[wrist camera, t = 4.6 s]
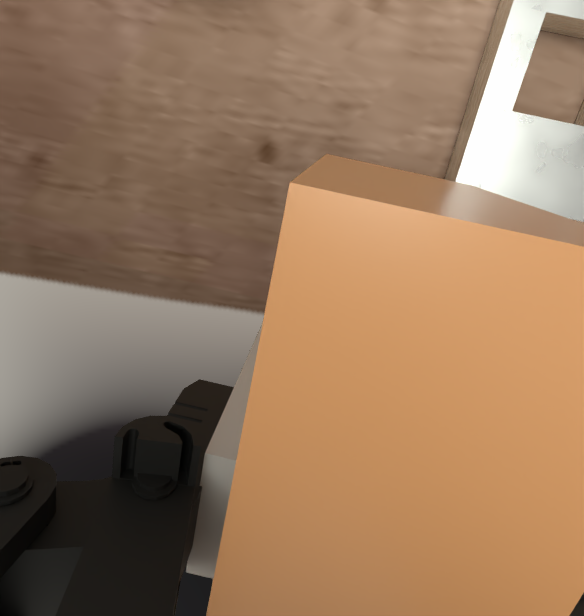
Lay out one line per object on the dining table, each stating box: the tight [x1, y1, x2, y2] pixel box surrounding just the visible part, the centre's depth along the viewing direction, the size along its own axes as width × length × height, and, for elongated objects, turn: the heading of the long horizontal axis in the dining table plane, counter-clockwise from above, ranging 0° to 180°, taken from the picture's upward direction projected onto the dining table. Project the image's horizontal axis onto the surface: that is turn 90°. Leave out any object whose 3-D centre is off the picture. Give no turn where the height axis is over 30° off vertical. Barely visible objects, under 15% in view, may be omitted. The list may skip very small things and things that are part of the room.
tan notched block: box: [206, 154, 584, 616], centre depth 11 cm, size 4×12×11 cm, turn 169°
